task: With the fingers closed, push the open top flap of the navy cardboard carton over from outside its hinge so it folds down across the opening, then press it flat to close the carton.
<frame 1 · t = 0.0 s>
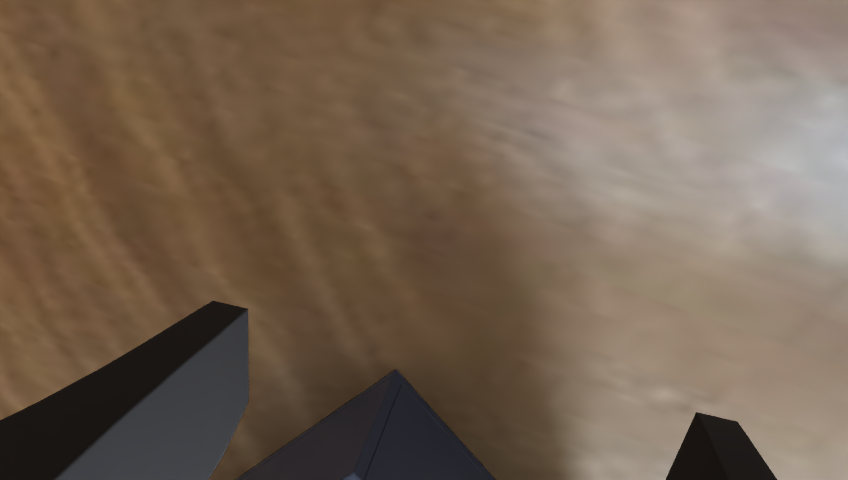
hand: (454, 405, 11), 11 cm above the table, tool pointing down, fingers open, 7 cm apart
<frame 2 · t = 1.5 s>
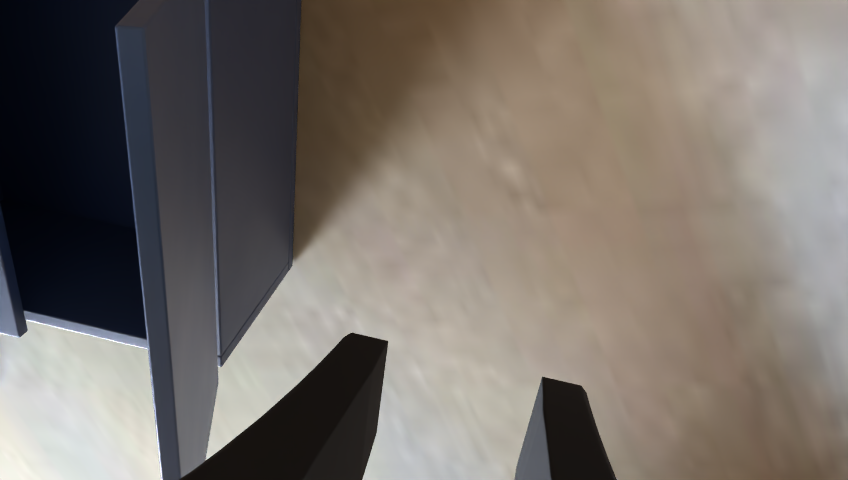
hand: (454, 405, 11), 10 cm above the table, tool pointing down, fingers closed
carton: (130, 83, 21), on the table
flap: (185, 270, 13), point 9 cm above the table, hinge at 109.2°
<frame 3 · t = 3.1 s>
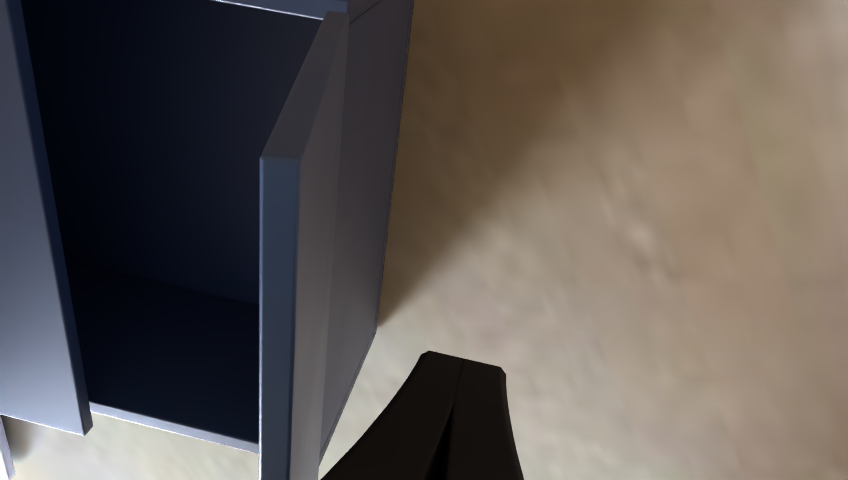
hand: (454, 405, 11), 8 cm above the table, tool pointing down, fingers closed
carton: (202, 133, 19), on the table
flap: (301, 401, 11), point 9 cm above the table, hinge at 102.2°, touching gripper
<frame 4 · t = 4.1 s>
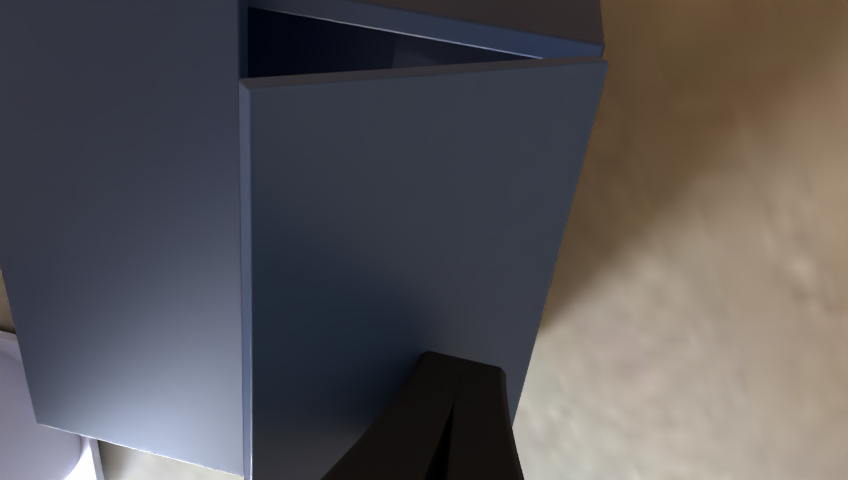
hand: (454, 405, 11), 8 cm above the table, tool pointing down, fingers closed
carton: (343, 162, 18), on the table
flap: (403, 390, 11), point 8 cm above the table, hinge at 43.7°, touching gripper
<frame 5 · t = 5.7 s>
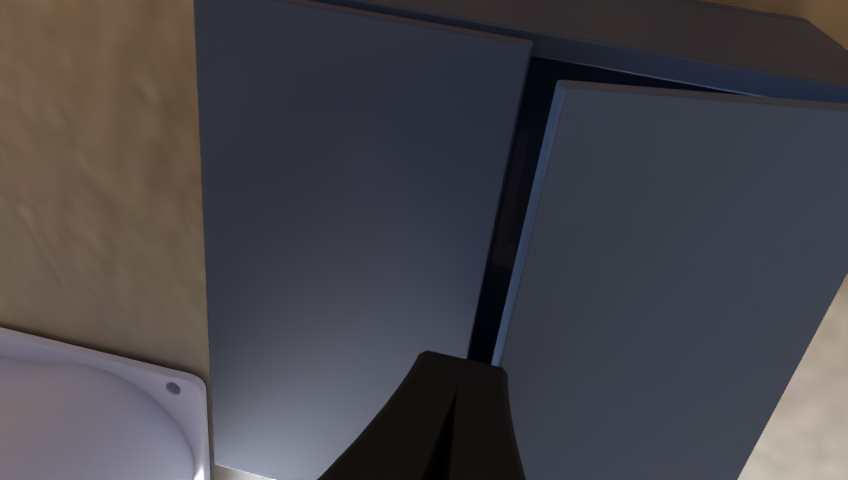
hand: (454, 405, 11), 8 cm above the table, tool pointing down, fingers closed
carton: (507, 193, 18), on the table
flap: (635, 398, 12), point 7 cm above the table, hinge at 19.1°
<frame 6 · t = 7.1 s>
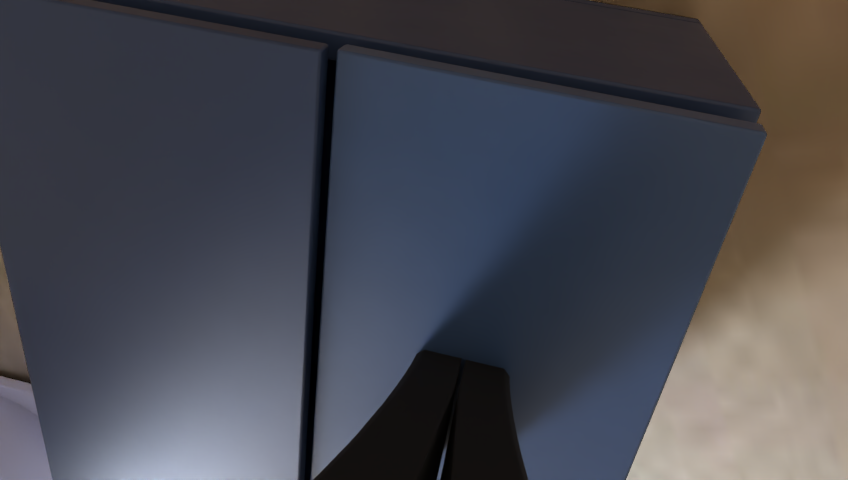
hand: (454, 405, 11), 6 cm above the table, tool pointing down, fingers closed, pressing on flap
carton: (396, 208, 16), on the table
flap: (473, 404, 11), point 6 cm above the table, hinge at -1.5°, touching gripper
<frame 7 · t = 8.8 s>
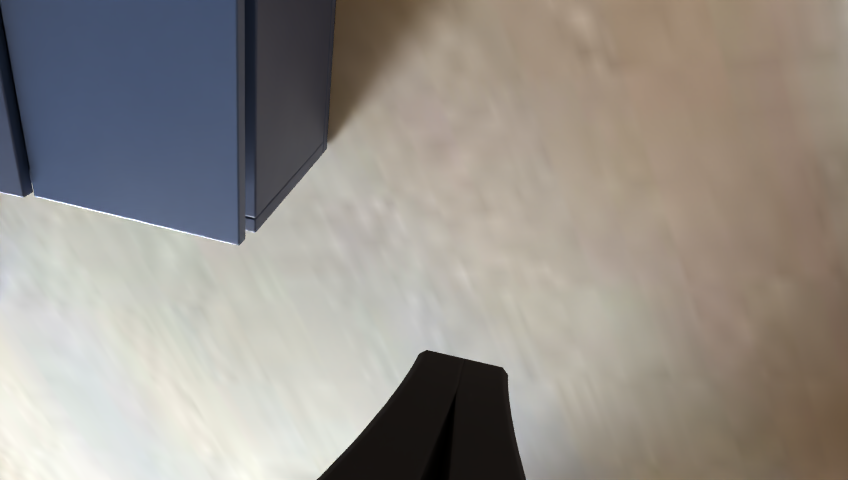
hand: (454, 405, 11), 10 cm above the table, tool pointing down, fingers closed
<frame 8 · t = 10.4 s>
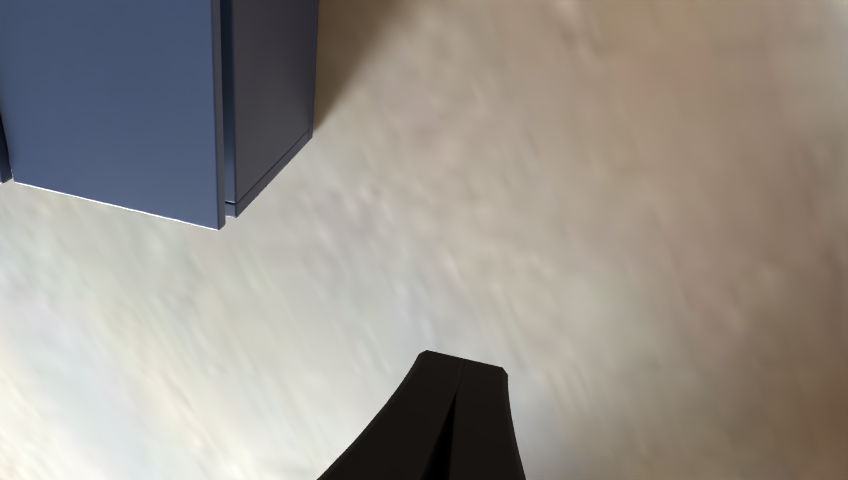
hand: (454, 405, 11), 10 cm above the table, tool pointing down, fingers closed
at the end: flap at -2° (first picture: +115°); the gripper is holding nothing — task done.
